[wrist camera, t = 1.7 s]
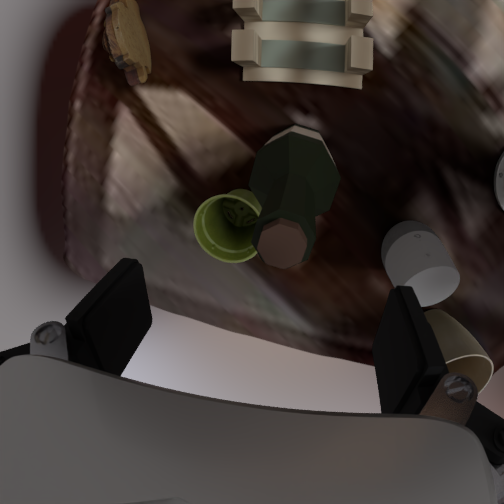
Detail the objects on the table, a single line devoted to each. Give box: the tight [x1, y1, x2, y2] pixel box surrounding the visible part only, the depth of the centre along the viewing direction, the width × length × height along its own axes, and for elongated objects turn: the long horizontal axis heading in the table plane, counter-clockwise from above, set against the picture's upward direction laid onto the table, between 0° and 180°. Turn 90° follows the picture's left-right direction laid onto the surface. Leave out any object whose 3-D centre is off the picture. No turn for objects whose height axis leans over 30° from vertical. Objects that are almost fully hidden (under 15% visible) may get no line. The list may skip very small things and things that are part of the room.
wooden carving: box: [102, 0, 151, 86], centre depth 32 cm, size 16×5×10 cm, turn 19°
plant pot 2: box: [424, 309, 493, 394], centre depth 44 cm, size 15×15×16 cm
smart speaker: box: [381, 220, 460, 307], centre depth 39 cm, size 10×9×14 cm
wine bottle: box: [248, 124, 341, 269], centre depth 29 cm, size 8×8×30 cm
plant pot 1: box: [193, 189, 262, 263], centre depth 43 cm, size 9×9×9 cm
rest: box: [231, 0, 373, 89], centre depth 29 cm, size 16×20×8 cm
